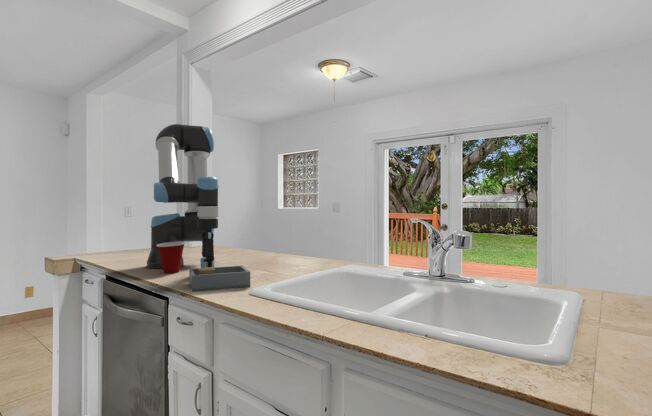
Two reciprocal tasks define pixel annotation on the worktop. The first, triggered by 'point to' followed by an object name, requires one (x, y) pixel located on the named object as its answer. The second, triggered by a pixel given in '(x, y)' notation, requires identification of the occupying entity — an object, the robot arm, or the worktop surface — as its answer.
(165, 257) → the plastic cup
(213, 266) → the slate cylinder
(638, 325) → the worktop surface
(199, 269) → the walnut cube
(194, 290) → the tote
